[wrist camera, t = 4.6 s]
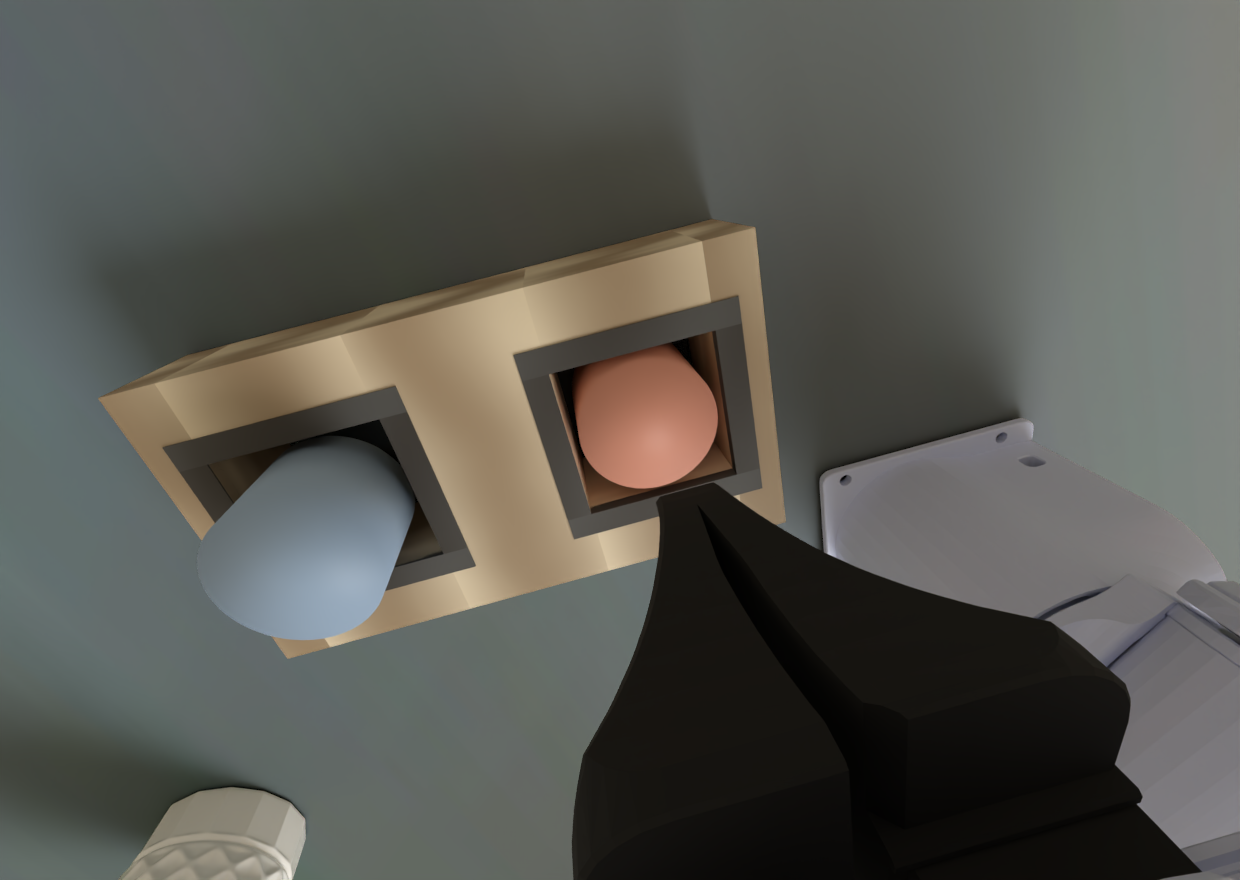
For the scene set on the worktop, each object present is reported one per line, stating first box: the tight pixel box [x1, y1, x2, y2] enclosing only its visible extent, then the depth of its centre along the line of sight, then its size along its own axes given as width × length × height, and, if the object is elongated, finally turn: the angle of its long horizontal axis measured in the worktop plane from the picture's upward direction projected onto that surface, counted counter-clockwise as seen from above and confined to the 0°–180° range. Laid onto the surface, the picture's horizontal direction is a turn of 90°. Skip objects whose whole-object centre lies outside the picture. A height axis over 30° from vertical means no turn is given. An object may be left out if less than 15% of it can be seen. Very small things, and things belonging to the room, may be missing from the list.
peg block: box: [98, 219, 786, 659], centre depth 18 cm, size 18×10×4 cm, turn 103°
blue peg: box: [197, 436, 415, 640], centre depth 15 cm, size 4×4×4 cm
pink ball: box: [572, 342, 718, 488], centre depth 18 cm, size 4×4×4 cm
